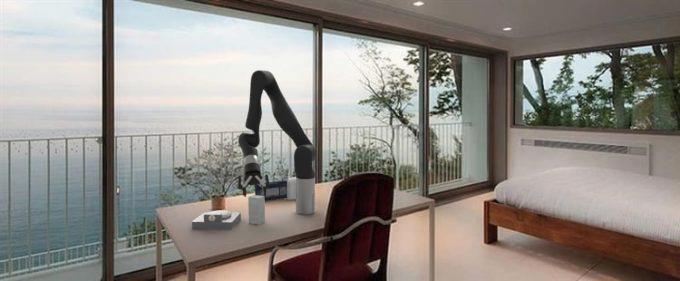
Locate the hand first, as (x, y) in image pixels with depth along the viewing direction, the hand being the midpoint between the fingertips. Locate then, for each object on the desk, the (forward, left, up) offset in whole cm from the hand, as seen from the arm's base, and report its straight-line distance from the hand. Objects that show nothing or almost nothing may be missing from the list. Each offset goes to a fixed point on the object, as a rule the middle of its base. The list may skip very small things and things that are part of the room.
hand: (254, 195), depth 174 cm
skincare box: (-2, +5, -11) cm, 13 cm away
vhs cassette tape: (-1, -35, -11) cm, 37 cm away
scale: (+15, +7, -11) cm, 20 cm away
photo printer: (-14, -38, -11) cm, 42 cm away
